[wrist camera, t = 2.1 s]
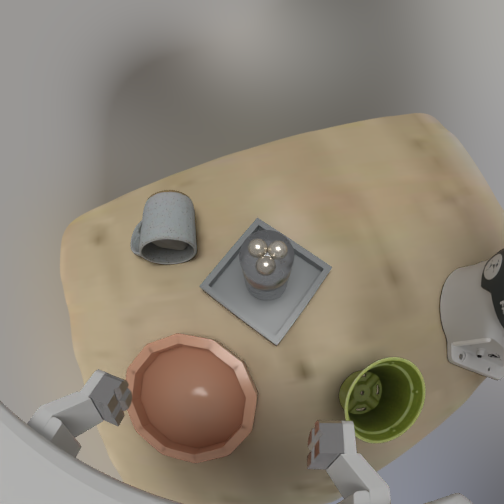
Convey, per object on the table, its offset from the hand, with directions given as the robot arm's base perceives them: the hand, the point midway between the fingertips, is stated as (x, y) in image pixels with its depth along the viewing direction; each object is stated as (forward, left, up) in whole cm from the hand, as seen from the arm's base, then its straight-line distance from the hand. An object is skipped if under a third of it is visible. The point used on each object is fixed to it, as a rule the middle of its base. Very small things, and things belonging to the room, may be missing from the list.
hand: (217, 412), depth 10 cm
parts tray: (+6, -11, -23) cm, 26 cm away
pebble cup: (+6, -11, -23) cm, 26 cm away
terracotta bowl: (+4, +7, -23) cm, 25 cm away
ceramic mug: (+21, -7, -24) cm, 32 cm away
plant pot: (-13, -6, -23) cm, 28 cm away
